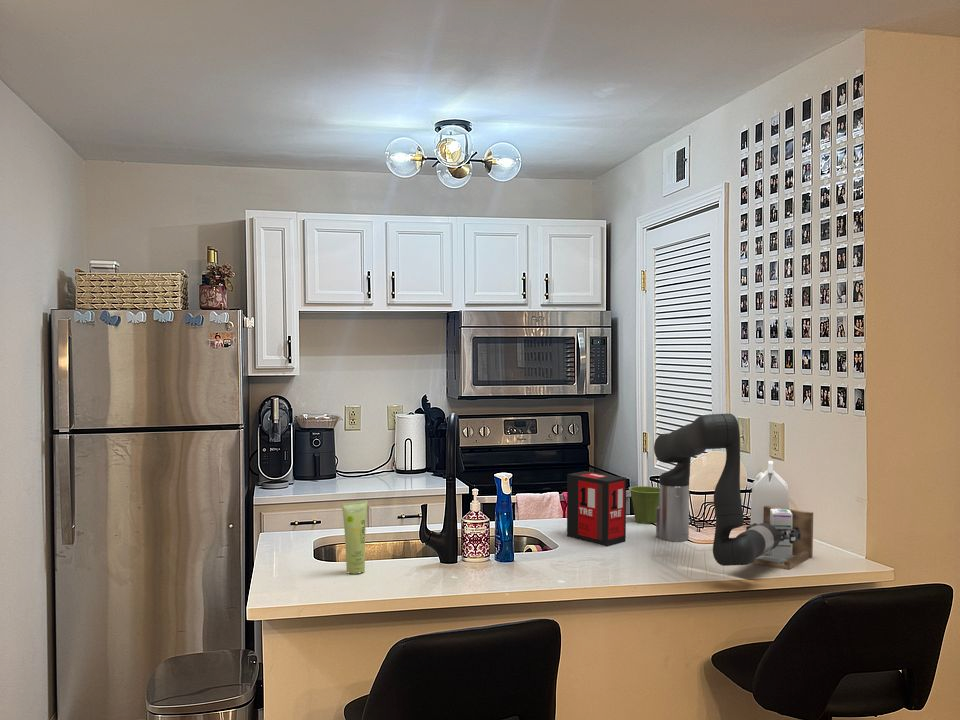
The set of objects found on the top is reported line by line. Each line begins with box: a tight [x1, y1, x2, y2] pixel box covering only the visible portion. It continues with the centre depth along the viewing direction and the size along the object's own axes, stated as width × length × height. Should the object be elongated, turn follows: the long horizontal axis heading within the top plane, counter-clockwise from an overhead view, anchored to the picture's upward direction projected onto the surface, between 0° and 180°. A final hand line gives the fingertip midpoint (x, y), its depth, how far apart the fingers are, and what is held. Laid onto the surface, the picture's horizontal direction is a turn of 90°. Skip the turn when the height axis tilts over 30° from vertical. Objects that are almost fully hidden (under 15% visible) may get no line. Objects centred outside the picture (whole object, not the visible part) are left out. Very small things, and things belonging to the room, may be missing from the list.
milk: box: [749, 460, 790, 525], centre depth 260 cm, size 12×12×26 cm
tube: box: [341, 499, 369, 574], centre depth 234 cm, size 6×5×20 cm
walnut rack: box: [752, 506, 814, 571], centre depth 243 cm, size 14×17×14 cm
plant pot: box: [628, 485, 659, 525], centre depth 293 cm, size 12×12×11 cm
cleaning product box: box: [566, 470, 627, 547], centre depth 270 cm, size 16×9×20 cm, turn 42°
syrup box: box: [769, 508, 793, 560], centre depth 245 cm, size 6×6×14 cm
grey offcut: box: [755, 554, 786, 564], centre depth 241 cm, size 7×4×1 cm, turn 47°
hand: (783, 528), depth 247 cm, fingers closed on syrup box, 7 cm apart
